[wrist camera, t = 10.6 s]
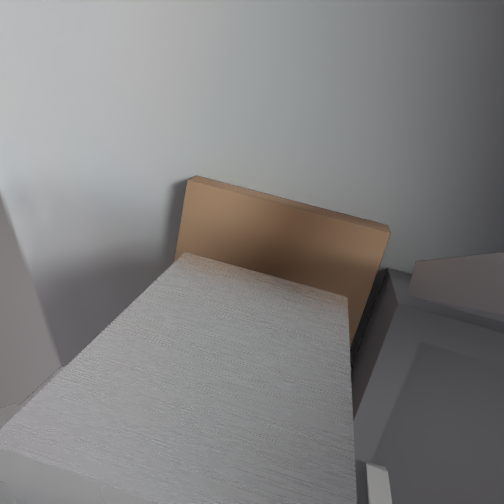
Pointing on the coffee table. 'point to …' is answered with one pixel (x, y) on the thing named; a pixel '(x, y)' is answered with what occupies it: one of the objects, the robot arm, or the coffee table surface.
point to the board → (283, 240)
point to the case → (430, 399)
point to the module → (196, 400)
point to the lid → (462, 283)
